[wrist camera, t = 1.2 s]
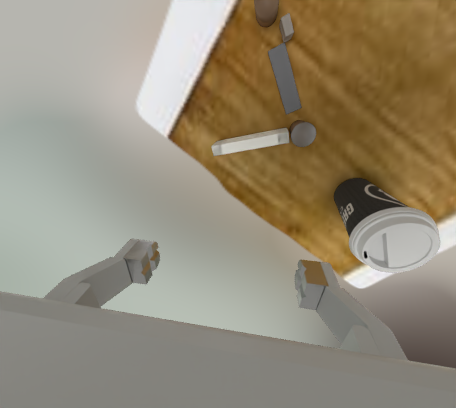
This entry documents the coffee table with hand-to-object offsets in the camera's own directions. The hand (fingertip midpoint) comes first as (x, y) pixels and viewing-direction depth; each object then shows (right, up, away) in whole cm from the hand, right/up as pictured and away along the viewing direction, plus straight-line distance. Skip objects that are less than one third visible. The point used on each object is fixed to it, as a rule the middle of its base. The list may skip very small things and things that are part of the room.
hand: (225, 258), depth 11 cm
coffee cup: (+23, +5, +26) cm, 35 cm away
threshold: (+9, +22, +19) cm, 30 cm away
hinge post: (+12, +16, +22) cm, 29 cm away
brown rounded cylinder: (+6, +28, +16) cm, 32 cm away
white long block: (+4, +14, +23) cm, 27 cm away
